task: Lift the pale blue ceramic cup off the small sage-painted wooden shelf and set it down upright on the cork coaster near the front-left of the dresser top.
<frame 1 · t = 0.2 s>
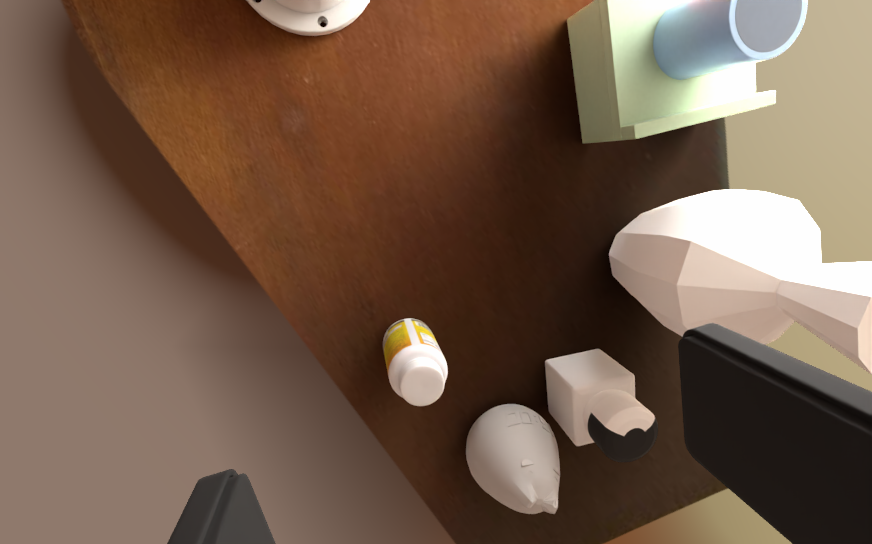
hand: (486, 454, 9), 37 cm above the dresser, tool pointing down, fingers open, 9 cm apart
shelf: (636, 69, 45), on the dresser
vase: (643, 246, 50), on the dresser
toy character: (501, 431, 53), on the dresser
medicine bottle: (572, 378, 53), on the dresser
supplement bottle: (407, 339, 48), on the dresser
cup: (685, 40, 38), point 7 cm above the dresser, touching shelf
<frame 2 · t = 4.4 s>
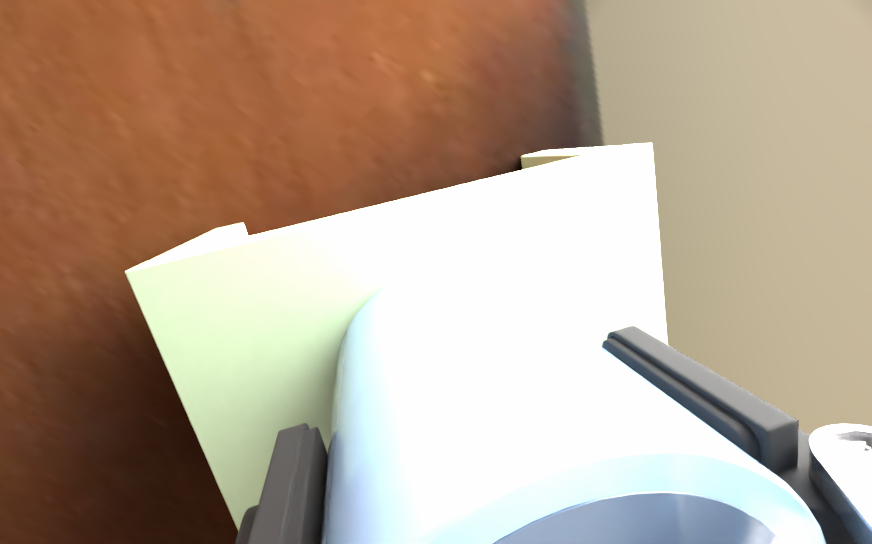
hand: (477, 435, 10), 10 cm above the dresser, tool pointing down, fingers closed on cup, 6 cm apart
shelf: (420, 320, 20), on the dresser
cup: (448, 372, 13), point 7 cm above the dresser, touching gripper, shelf
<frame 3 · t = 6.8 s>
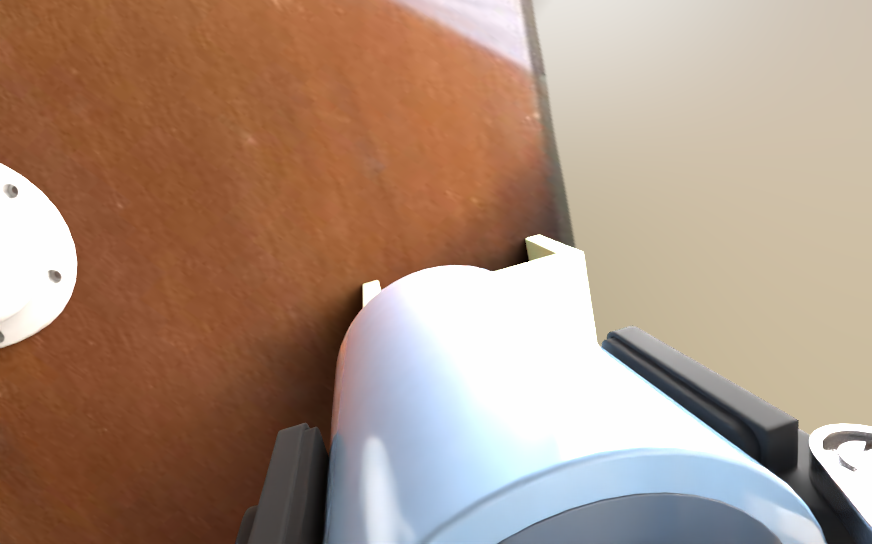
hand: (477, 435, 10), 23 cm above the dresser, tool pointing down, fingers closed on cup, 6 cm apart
shelf: (469, 329, 34), on the dresser
cup: (449, 372, 13), point 20 cm above the dresser, touching gripper
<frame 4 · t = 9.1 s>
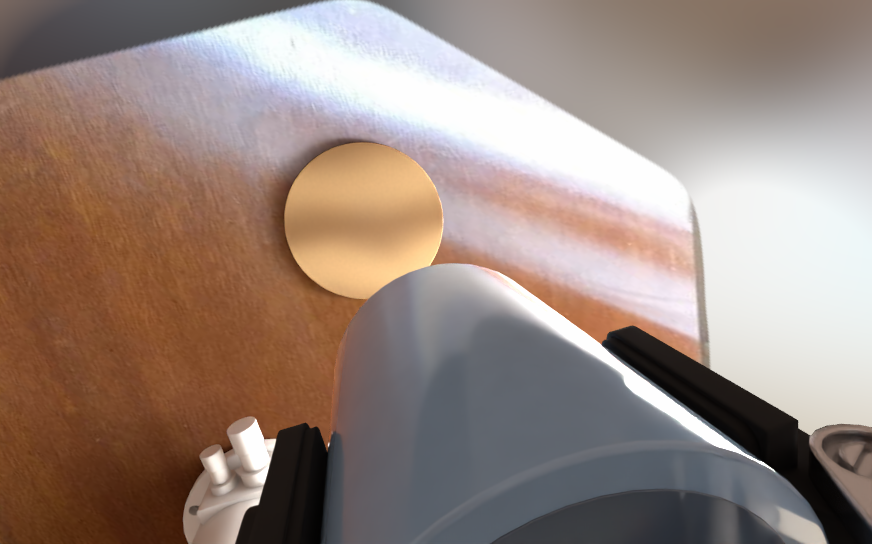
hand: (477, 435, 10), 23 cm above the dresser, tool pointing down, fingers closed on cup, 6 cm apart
coaster: (366, 223, 31), on the dresser
cup: (448, 371, 13), point 20 cm above the dresser, touching gripper
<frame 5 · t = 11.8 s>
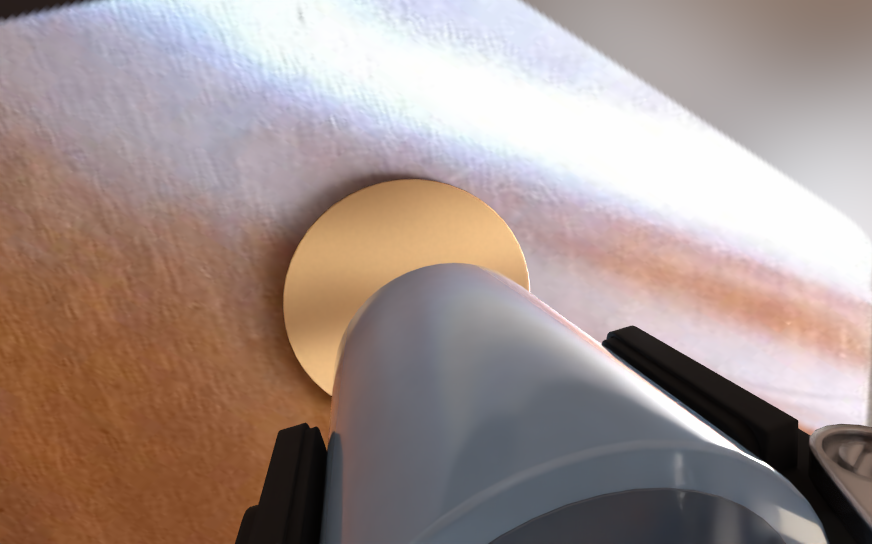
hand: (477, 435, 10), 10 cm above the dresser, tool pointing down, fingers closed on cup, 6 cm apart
coaster: (411, 303, 20), on the dresser
cup: (448, 370, 13), point 7 cm above the dresser, touching gripper
when the fingers open (3 cm above the dresser, at t = 14.0 s): cup stays where it is, resting on coaster.
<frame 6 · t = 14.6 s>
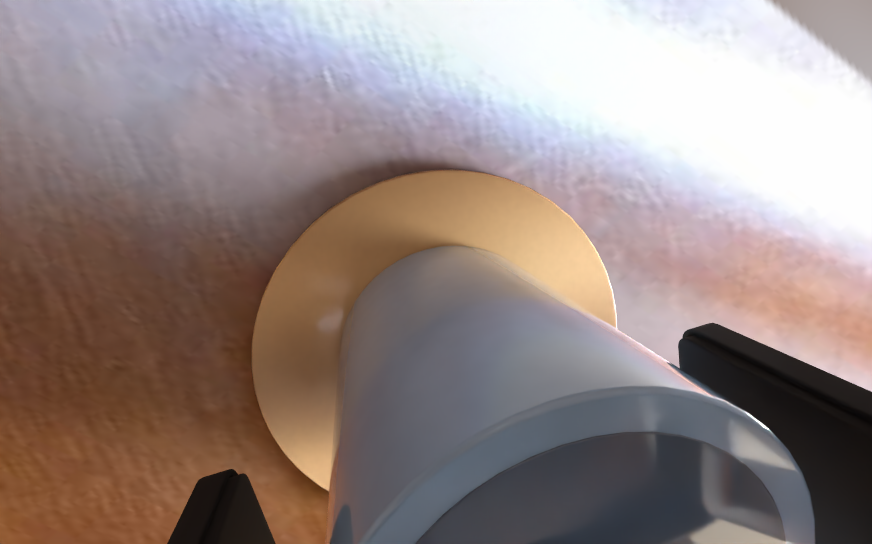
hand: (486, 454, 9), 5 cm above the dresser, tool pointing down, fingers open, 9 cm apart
coaster: (445, 354, 13), on the dresser
cup: (450, 351, 13), resting on coaster
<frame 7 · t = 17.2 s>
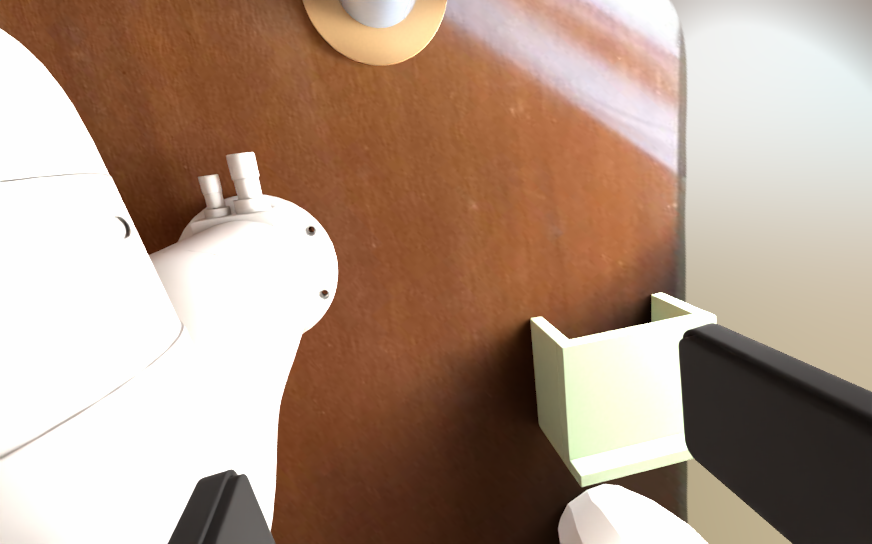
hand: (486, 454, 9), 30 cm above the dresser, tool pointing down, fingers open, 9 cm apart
shelf: (599, 359, 44), on the dresser
vase: (595, 511, 49), on the dresser
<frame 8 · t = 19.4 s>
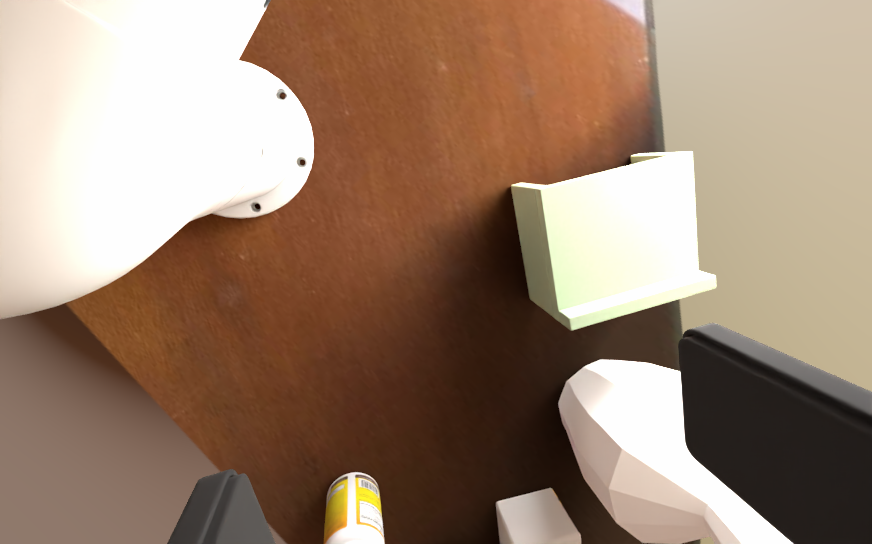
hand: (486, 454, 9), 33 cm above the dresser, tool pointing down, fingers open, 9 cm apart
shelf: (584, 227, 45), on the dresser
vase: (595, 389, 50), on the dresser
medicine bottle: (524, 516, 52), on the dresser
supplement bottle: (353, 490, 47), on the dresser
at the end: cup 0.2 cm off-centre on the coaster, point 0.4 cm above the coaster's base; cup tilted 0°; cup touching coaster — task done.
